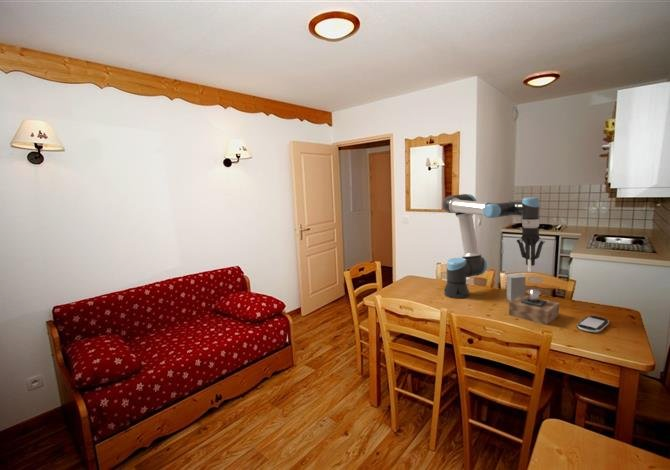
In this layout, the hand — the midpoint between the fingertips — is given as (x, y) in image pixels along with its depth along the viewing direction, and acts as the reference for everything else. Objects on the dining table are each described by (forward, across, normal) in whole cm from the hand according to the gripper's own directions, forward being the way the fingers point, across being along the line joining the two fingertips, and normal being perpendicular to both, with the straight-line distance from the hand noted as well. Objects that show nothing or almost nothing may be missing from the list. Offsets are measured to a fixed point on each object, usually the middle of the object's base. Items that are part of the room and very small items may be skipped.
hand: (530, 271), depth 169 cm
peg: (+17, +3, -2) cm, 18 cm away
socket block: (+23, +2, -2) cm, 24 cm away
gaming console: (+25, +26, +3) cm, 36 cm away
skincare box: (+23, -13, +14) cm, 30 cm away
